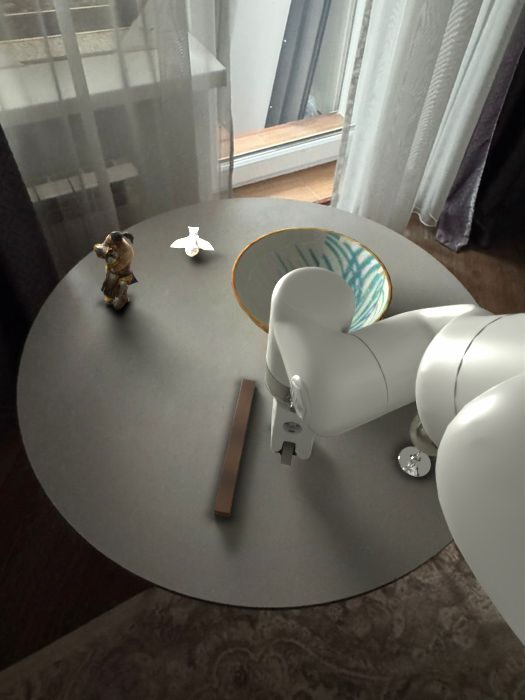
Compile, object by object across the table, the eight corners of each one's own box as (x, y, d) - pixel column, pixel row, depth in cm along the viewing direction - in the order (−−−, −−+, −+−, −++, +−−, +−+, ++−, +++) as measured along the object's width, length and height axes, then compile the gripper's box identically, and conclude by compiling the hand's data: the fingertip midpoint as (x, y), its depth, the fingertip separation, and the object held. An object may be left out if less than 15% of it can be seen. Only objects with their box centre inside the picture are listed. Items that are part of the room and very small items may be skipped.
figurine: (147, 292, 86) (134, 221, 74) (144, 317, 83) (130, 247, 71) (105, 292, 85) (85, 221, 74) (101, 317, 82) (79, 247, 70)
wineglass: (411, 435, 72) (439, 389, 62) (444, 464, 69) (478, 421, 60) (384, 458, 69) (409, 414, 60) (417, 489, 67) (448, 449, 57)
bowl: (255, 248, 94) (257, 213, 87) (389, 279, 91) (401, 245, 84) (209, 351, 79) (207, 317, 73) (368, 392, 76) (380, 361, 69)
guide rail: (229, 517, 63) (229, 513, 62) (214, 514, 63) (213, 510, 62) (255, 386, 75) (255, 380, 74) (242, 384, 76) (242, 378, 74)
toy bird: (168, 257, 90) (167, 231, 88) (173, 248, 94) (172, 223, 92) (212, 260, 90) (213, 235, 88) (216, 251, 94) (216, 226, 92)
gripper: (331, 438, 49) (308, 507, 63) (339, 322, 58) (318, 405, 72) (254, 426, 49) (249, 497, 64) (274, 313, 58) (266, 398, 73)
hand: (286, 448), depth 68 cm, fingers closed
